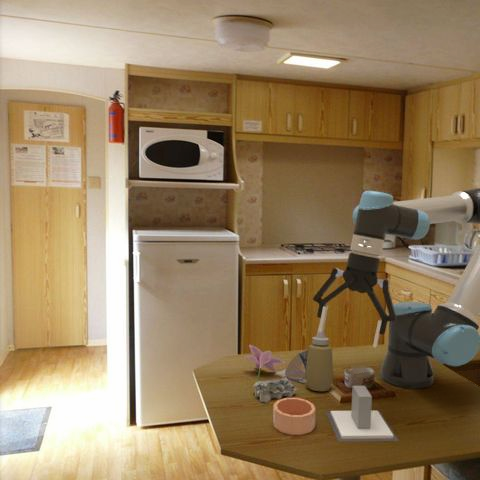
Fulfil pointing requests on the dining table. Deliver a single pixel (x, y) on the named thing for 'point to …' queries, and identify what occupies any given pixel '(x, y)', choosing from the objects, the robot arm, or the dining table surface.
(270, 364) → the lily
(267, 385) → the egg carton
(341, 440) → the rubber mat
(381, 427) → the cover sheet
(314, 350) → the squeeze bottle
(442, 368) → the dining table surface
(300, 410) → the bowl
